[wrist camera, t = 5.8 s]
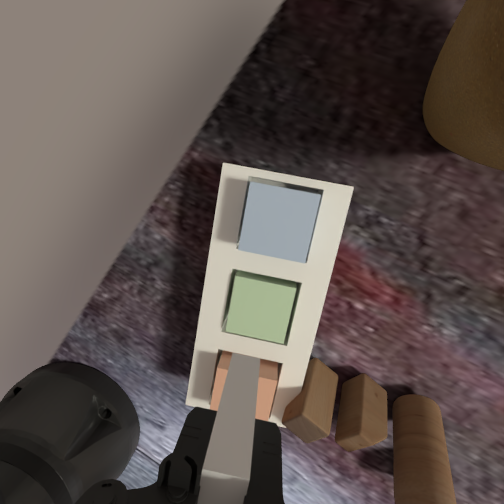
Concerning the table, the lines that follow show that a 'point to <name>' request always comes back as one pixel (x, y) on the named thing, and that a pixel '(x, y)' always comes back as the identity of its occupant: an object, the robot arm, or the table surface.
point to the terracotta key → (265, 384)
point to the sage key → (260, 306)
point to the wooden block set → (377, 430)
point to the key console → (304, 274)
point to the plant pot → (470, 86)
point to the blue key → (278, 222)
